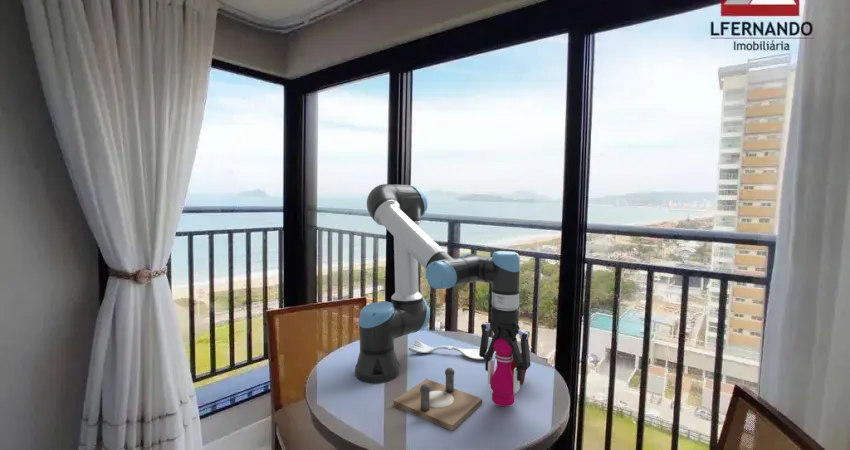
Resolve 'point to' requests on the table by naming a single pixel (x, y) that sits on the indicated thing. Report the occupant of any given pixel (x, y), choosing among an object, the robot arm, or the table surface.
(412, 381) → the table surface
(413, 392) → the holder
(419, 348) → the spoon
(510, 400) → the pepper mill
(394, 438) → the table surface
